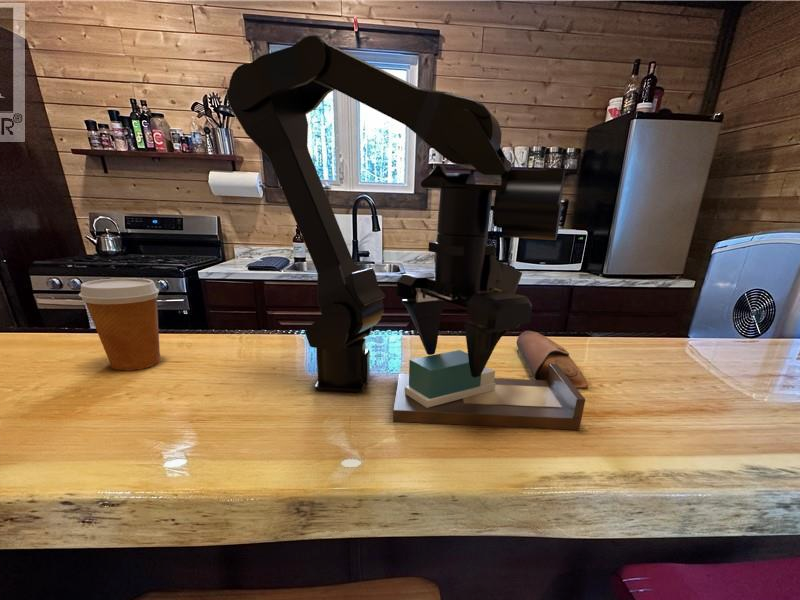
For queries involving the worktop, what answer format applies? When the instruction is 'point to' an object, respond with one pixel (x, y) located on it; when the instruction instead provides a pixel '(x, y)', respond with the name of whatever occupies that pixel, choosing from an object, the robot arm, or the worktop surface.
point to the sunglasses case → (548, 358)
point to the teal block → (445, 379)
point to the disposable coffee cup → (125, 320)
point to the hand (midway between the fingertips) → (451, 364)
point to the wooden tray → (503, 404)
